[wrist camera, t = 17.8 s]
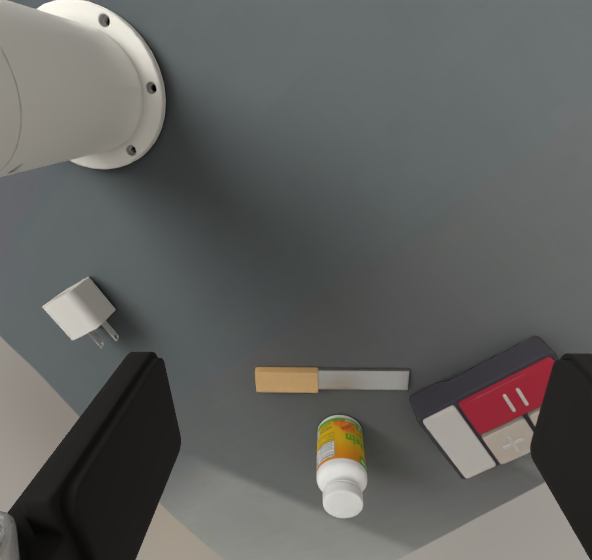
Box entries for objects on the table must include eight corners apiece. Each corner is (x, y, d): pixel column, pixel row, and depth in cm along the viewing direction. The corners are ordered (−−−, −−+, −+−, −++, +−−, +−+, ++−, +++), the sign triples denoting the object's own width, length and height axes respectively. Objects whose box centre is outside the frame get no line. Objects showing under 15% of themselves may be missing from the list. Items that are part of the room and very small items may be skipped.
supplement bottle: (371, 431, 48) (382, 507, 39) (338, 452, 49) (341, 530, 41) (341, 406, 46) (345, 478, 37) (308, 428, 48) (304, 503, 39)
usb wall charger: (91, 274, 41) (69, 292, 37) (133, 325, 43) (116, 346, 40) (63, 290, 42) (39, 309, 38) (106, 339, 44) (86, 361, 41)
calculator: (599, 428, 40) (465, 487, 44) (573, 399, 44) (452, 456, 48) (558, 354, 37) (417, 424, 41) (533, 330, 41) (407, 397, 45)
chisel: (257, 386, 46) (256, 392, 45) (255, 366, 45) (254, 372, 44) (406, 387, 44) (408, 394, 44) (408, 367, 43) (410, 373, 42)
